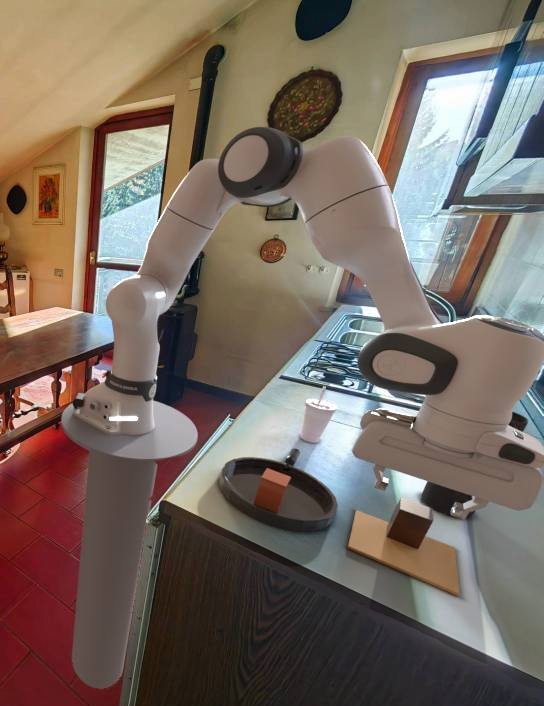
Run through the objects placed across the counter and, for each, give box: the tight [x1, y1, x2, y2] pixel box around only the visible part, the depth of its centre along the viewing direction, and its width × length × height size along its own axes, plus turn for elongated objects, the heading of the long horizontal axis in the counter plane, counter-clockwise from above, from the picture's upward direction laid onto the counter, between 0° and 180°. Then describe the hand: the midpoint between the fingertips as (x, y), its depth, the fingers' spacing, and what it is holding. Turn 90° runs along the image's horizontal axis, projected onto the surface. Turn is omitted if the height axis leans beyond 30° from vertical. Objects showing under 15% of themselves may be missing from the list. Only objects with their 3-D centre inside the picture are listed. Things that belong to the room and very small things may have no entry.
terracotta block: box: [254, 468, 291, 513], centre depth 72 cm, size 4×4×6 cm
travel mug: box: [420, 411, 529, 519], centre depth 71 cm, size 8×8×20 cm
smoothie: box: [300, 386, 338, 444], centre depth 94 cm, size 6×6×14 cm
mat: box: [347, 509, 460, 597], centre depth 64 cm, size 13×12×1 cm
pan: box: [218, 456, 339, 533], centre depth 76 cm, size 19×19×2 cm
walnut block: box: [386, 497, 434, 549], centre depth 65 cm, size 4×4×6 cm
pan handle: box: [283, 447, 301, 471], centre depth 85 cm, size 2×10×2 cm, turn 137°
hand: (416, 501), depth 63 cm, fingers open, 8 cm apart
